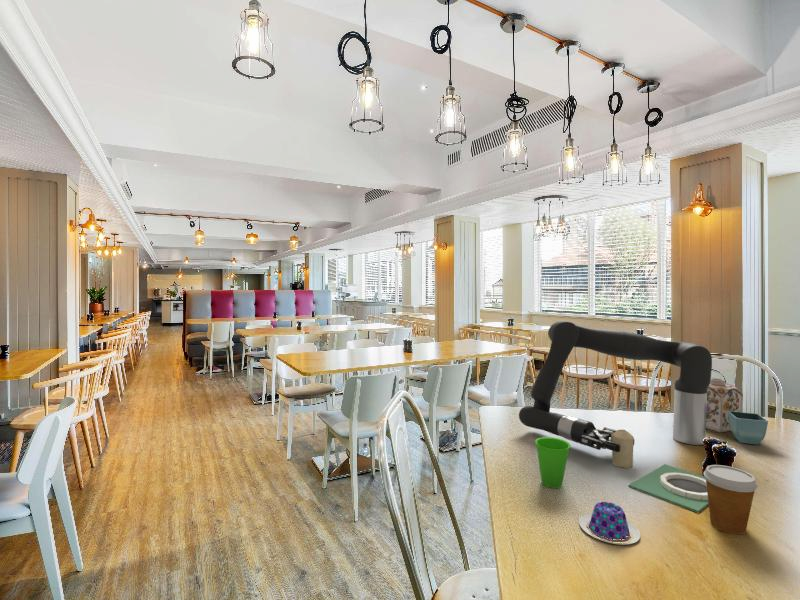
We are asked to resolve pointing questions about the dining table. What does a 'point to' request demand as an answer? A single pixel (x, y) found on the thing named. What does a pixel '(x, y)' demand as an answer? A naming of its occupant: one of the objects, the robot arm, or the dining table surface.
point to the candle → (623, 449)
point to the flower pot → (747, 427)
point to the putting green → (675, 487)
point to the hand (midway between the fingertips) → (626, 445)
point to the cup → (552, 460)
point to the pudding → (609, 523)
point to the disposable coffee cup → (729, 497)
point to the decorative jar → (721, 404)
